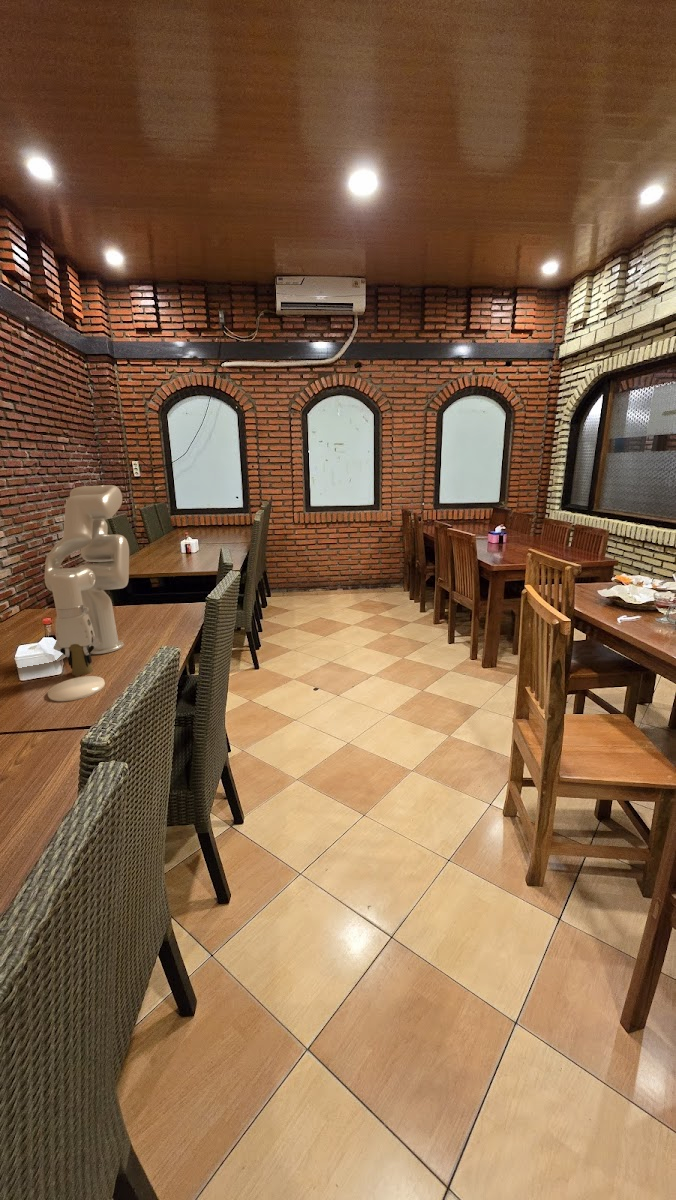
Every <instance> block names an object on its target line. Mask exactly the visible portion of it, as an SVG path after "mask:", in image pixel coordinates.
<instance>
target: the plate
mask: <svg viewBox="0 0 676 1200" xmlns="http://www.w3.org/2000/svg"><path fill="white" fill-rule="evenodd" d="M105 685H106V684H105V679H104V678H102V677H101V676H96V675H90V676H89V675H88V676H86V675H84V676H77V677H75V678H70V679H67V680H64V681H61V682H59V683H56V684H54V685H53V686H52V687H50V688H49V689H48V691H47V697H48V699H49V700H51V701H54V702H71V701H77V700H81V699H85V698H88V697H91V696H92V695H95V694H97V693H99V692H100V691H102V689H103V688H105Z"/></svg>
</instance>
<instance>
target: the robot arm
mask: <svg viewBox="0 0 676 1200" xmlns="http://www.w3.org/2000/svg"><path fill="white" fill-rule="evenodd" d="M122 504H123V494H122V491H121V490H120V488H119V487H118V486H116V485H112V484H108V485H107V484H106V485H104V484H103V485H87V486H85V485H83V486H82V485H81V486H78V487H74V488H72V489H71V490H70V492H69V497H68V498H67V499H66V502H65V508H64V510H65V511H64V520H63V535H62V538H61V539H59V541H58V542H57V543H56V544H55V545H54V546H53V547H52V548H51V550H50V551H49V553H48V554H47V556H46V559H45V564H44V565H45V566H44V567H45V568H44V584H45V586H46V588H47V589H48V590H49V591H50V592H52V597H53V600H54V607H55V613H56V617H55V622H54V623H55V637H56V639H55V640H56V642H55V644H54V645H53V648H52V649H53V650H55V651H57V652H60V653H61V654H63V655H65V657H66V658H67V660H68V662H67V663H68V665H69V666H70V668H71V670H72V656H71V651H70V650H69V647H70V646H71V645H73V644H78V645H80V646H83V651H84V653H85V655H84V659H85V663H86V665H87V667H88V663H89V664H90V663H91V664H92V662H93V661H92V660H93V659H92V655H102V654H103V655H104V654H109V653H113V652H116V651H118V650H120V649H122V648H123V647H124V646H125V645H124V642H123V640H121V639H119V637H118V632H117V625H116V620H115V619H116V618H115V614H114V607H113V603H112V602H113V601H112V599H111V597H110V596H109V595H108V594H107V592H106V590H120V589H124V588H126V587H127V586H128V584H129V576H130V546H129V545H130V544H129V542H128V540H127V538H126V537H125V536H124V535H123V534H122V535H121V534H117V533H115V534H108V533H109V532H108V530H109V529H108V528H109V526H108V522H107V521H106V520H110V519H112V518H113V517H114V516H115V514H116V513H117V512H118V510H119V509H121V506H122ZM79 550H80V554H81V555H80V556H81V557H82V559H83V560H84V561H86V562H89V563H85V564H81V565H79V566H77V567H65V568H64V567H63V568H61V566H62V563H63V561H64V560H65V559H66V558H67V557H69V556H70V555H71V554H73V553H76V552H78V551H79Z"/></svg>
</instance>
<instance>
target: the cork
mask: <svg viewBox="0 0 676 1200" xmlns="http://www.w3.org/2000/svg"><path fill="white" fill-rule="evenodd" d="M69 650H70V651H71V656H72V669H71V675H72V676H73V675H74V676H73V677H81V676H80V675H83V676H86V675H89V674H91V673H92V672H93V671H94V669H93V666H92V663H90V664H89V663H88V667H87V665H86V663H85V659H84V655H85V653H84V651H83V646H80V645H78V644H73V645H71V646H70V647H69ZM90 672H91V673H90ZM88 673H89V674H88ZM85 674H86V675H85Z"/></svg>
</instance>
